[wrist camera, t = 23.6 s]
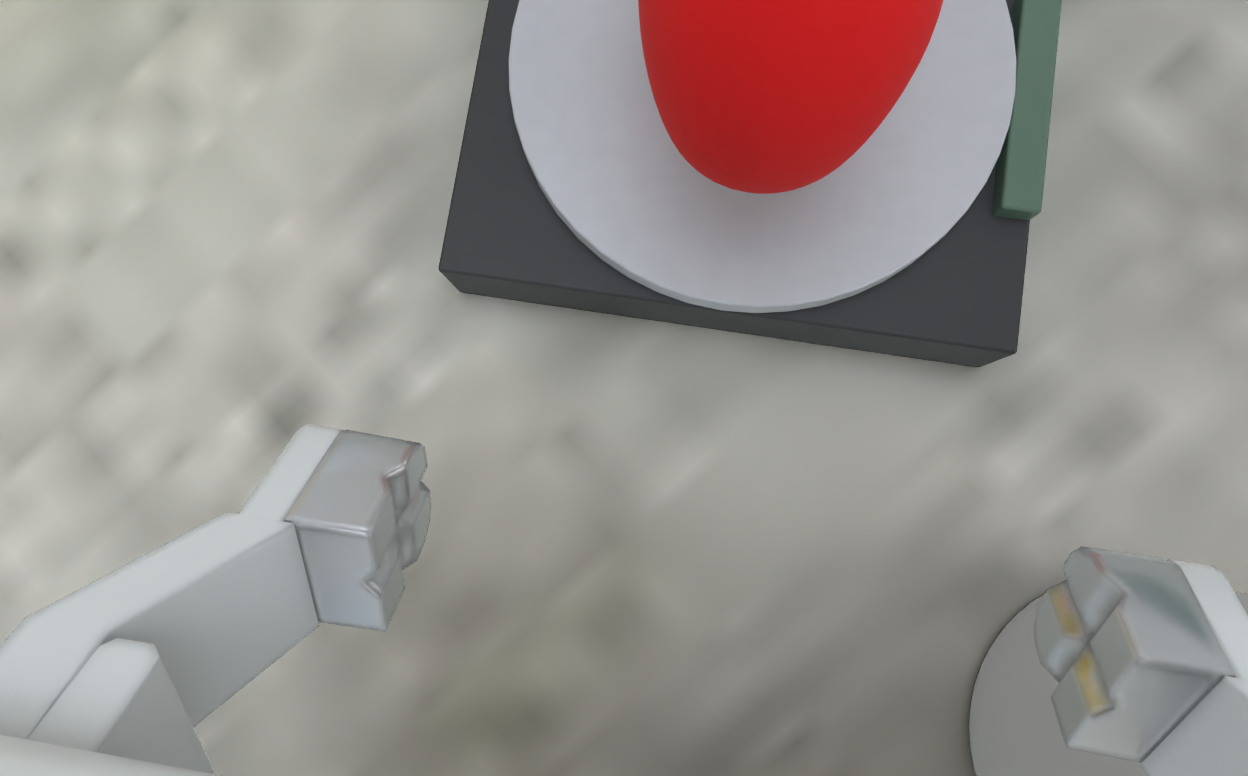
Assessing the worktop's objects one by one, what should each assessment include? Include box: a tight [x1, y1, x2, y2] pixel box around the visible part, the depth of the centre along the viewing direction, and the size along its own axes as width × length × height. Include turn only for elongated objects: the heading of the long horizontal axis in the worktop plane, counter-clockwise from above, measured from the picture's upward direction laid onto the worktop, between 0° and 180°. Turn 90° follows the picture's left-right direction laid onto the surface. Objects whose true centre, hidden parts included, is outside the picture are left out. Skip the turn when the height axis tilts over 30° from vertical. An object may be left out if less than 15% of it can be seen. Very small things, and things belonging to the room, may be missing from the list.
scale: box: [439, 0, 1061, 367], centre depth 22 cm, size 15×13×3 cm
